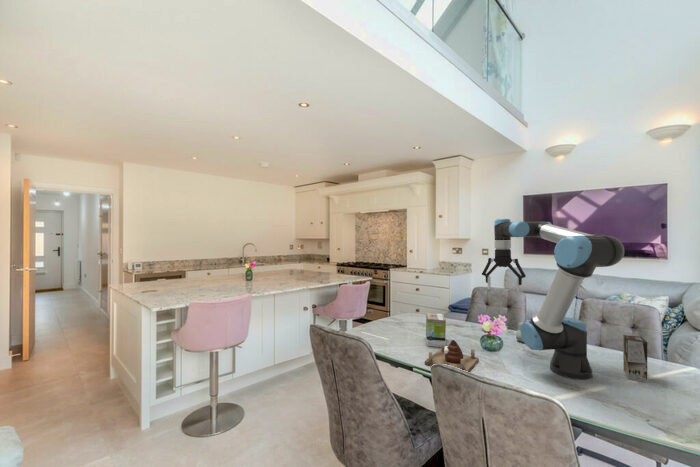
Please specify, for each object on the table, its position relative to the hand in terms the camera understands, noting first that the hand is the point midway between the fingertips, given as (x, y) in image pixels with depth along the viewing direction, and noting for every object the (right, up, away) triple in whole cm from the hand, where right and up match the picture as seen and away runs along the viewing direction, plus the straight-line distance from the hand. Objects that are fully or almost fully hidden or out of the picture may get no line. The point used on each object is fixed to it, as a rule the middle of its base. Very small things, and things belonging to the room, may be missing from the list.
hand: (503, 290), depth 163 cm
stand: (-31, -31, -14) cm, 46 cm away
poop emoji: (-30, -30, -15) cm, 45 cm away
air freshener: (+20, -32, +15) cm, 40 cm away
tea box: (-31, -32, +14) cm, 47 cm away
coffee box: (+41, -31, -30) cm, 59 cm away
